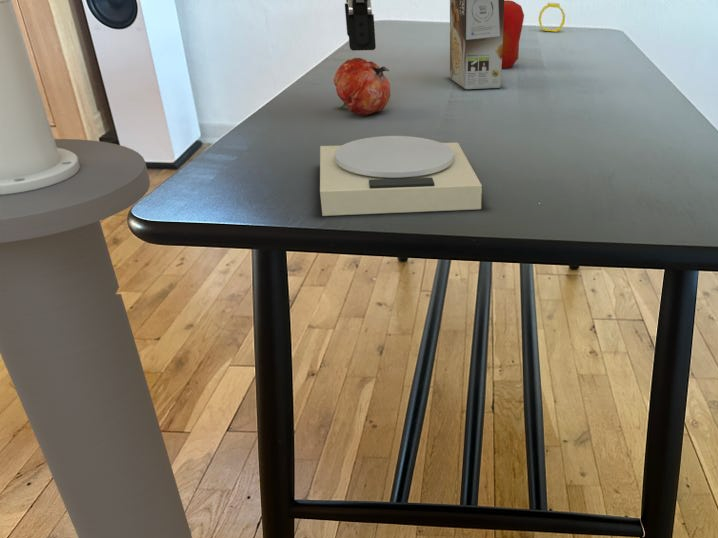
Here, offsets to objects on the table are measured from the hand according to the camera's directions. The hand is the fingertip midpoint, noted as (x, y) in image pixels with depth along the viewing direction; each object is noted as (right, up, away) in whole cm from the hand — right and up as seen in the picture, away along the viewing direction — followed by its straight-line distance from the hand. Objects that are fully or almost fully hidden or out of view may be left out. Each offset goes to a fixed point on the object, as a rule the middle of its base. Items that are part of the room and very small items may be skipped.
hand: (360, 42), depth 90 cm
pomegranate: (-1, -8, +5) cm, 9 cm away
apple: (+19, +12, +35) cm, 42 cm away
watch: (+32, +36, +72) cm, 86 cm away
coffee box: (+15, +4, +23) cm, 27 cm away
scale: (+7, -24, -19) cm, 32 cm away
